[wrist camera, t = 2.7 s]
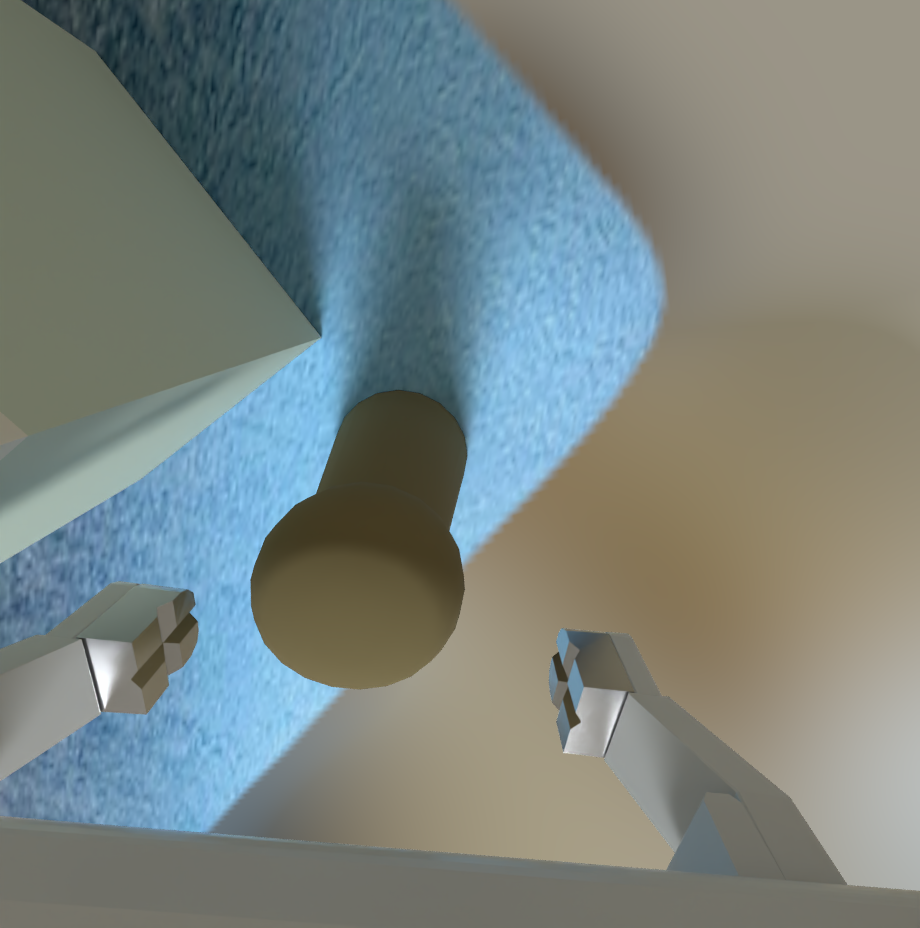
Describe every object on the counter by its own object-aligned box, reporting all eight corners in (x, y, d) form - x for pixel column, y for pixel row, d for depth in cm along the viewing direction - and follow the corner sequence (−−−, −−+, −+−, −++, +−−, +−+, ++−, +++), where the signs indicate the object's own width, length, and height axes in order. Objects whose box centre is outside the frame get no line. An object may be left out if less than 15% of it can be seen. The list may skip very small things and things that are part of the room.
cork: (365, 528, 21) (283, 754, 11) (312, 414, 19) (144, 561, 8) (483, 493, 20) (516, 697, 10) (443, 371, 18) (433, 473, 8)
